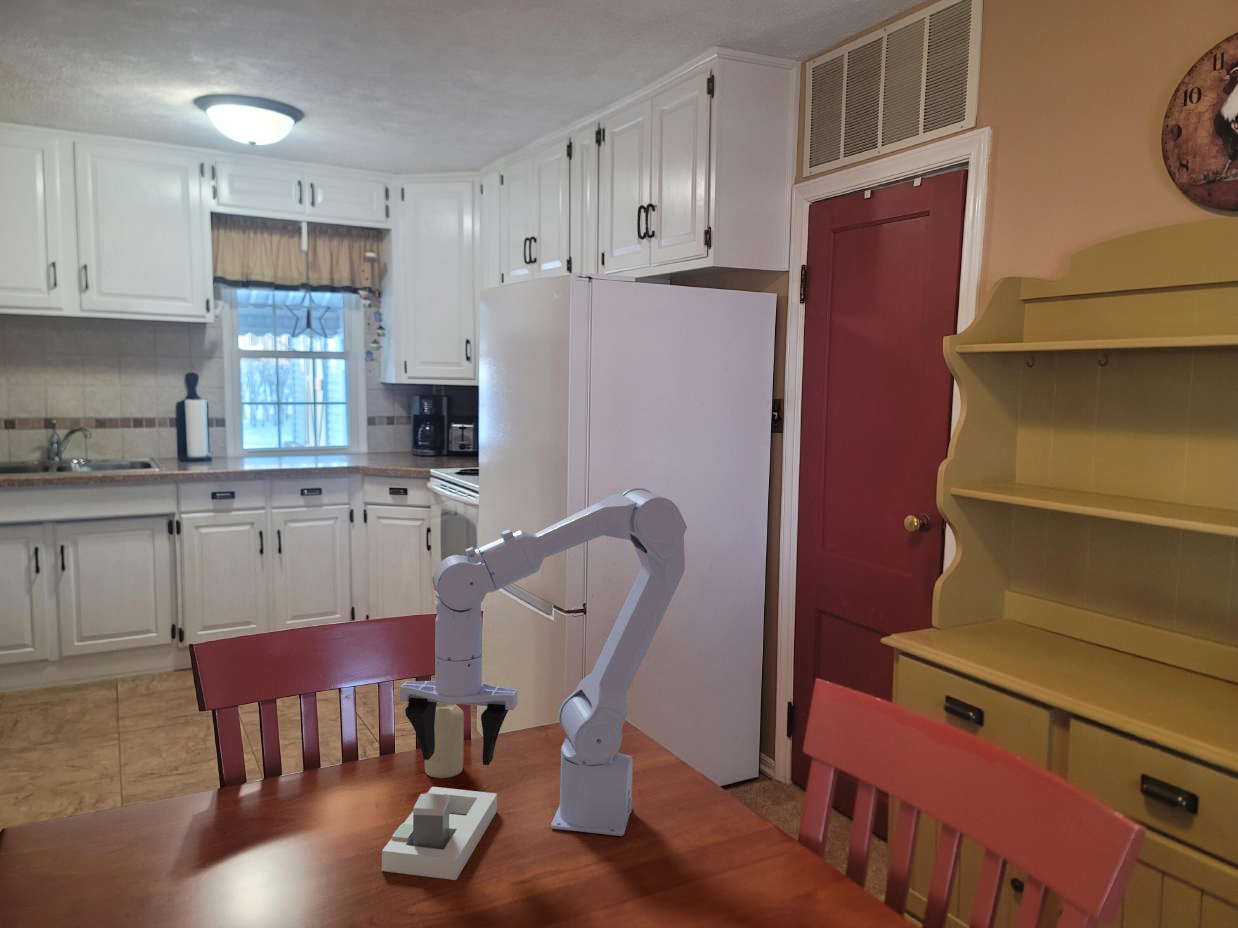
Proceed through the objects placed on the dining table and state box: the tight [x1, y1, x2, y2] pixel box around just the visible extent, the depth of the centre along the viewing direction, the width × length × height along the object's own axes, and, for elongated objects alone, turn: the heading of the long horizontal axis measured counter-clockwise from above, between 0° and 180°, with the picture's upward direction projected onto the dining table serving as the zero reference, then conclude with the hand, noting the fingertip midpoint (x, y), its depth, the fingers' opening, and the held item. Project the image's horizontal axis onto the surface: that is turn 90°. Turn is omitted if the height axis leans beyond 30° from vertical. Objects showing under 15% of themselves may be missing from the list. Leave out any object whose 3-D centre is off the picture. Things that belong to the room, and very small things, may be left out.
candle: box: [424, 702, 465, 779], centre depth 126 cm, size 6×6×10 cm
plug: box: [412, 793, 450, 850], centre depth 104 cm, size 4×4×7 cm
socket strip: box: [381, 786, 498, 881], centre depth 108 cm, size 9×16×3 cm, turn 171°
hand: (458, 758), depth 109 cm, fingers open, 7 cm apart
